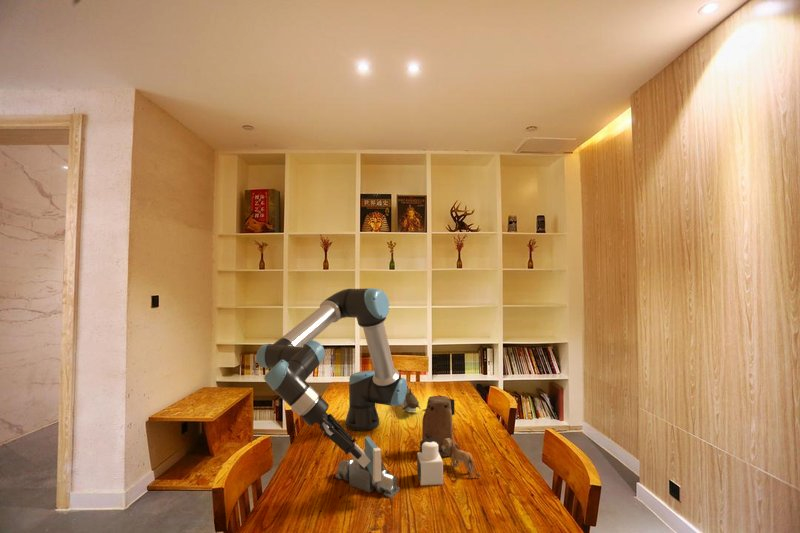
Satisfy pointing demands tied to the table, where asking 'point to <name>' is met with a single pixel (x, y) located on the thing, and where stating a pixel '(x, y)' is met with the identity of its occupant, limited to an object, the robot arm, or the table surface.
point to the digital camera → (452, 405)
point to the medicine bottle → (429, 463)
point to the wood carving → (410, 401)
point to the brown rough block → (438, 421)
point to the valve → (367, 478)
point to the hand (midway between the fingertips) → (367, 462)
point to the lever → (373, 459)
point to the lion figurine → (458, 455)
